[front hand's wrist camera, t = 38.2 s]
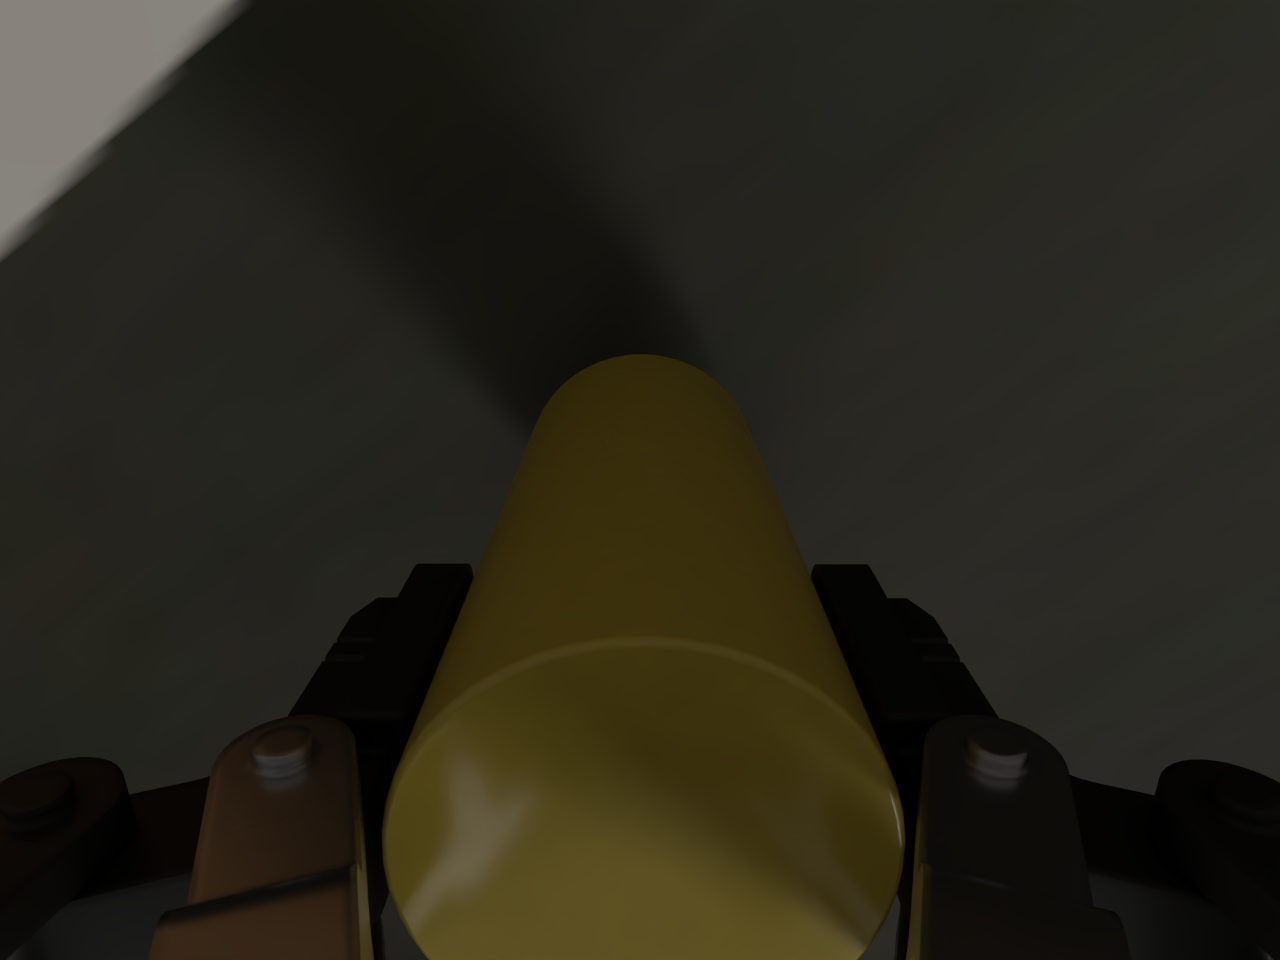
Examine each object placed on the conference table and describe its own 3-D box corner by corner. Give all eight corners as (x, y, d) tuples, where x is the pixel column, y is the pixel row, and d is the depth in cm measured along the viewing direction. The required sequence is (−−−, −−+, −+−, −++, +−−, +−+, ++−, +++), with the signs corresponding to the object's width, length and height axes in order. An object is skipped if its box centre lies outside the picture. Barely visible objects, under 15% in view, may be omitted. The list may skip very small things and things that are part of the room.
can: (782, 521, 18) (965, 976, 8) (581, 592, 19) (512, 1099, 9) (708, 318, 17) (817, 560, 6) (492, 402, 17) (278, 746, 7)
